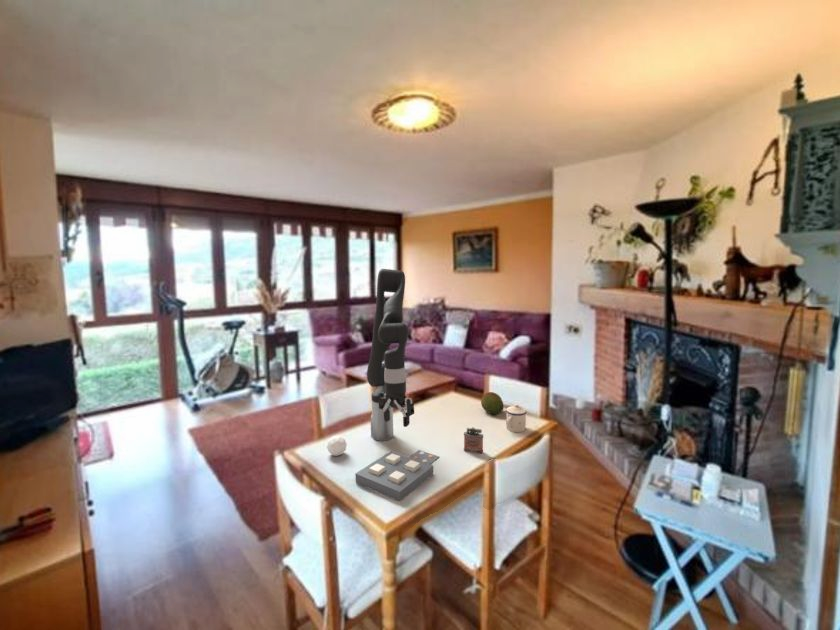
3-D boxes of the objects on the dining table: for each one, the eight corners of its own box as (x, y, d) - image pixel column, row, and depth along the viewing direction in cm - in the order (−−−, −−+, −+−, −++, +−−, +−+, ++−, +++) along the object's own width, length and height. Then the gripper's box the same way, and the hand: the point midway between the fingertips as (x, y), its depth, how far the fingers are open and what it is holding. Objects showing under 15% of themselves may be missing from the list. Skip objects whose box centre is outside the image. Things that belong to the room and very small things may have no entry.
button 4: (388, 482, 138) (388, 475, 138) (396, 477, 142) (396, 470, 141) (398, 486, 136) (397, 479, 136) (405, 481, 139) (405, 474, 139)
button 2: (404, 471, 146) (404, 464, 145) (411, 466, 149) (411, 459, 148) (413, 474, 143) (413, 467, 143) (420, 469, 147) (420, 463, 146)
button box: (355, 482, 143) (355, 473, 142) (391, 459, 159) (390, 451, 159) (400, 501, 132) (399, 491, 131) (433, 474, 148) (433, 465, 147)
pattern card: (407, 458, 159) (407, 457, 159) (418, 450, 166) (418, 449, 166) (428, 465, 154) (428, 464, 154) (439, 457, 160) (439, 456, 160)
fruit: (491, 406, 214) (491, 388, 213) (510, 413, 204) (510, 394, 203) (476, 411, 207) (476, 393, 205) (495, 419, 197) (495, 399, 196)
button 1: (385, 464, 151) (385, 457, 150) (392, 459, 154) (392, 453, 154) (394, 467, 148) (393, 460, 148) (400, 462, 152) (400, 456, 151)
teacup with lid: (511, 422, 192) (512, 399, 191) (529, 428, 186) (530, 404, 185) (498, 431, 183) (499, 406, 182) (516, 436, 178) (517, 411, 176)
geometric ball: (340, 462, 163) (341, 452, 157) (323, 454, 164) (323, 444, 158) (349, 446, 168) (350, 436, 163) (332, 438, 169) (333, 429, 164)
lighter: (462, 451, 165) (462, 428, 163) (464, 447, 168) (465, 425, 166) (482, 454, 162) (482, 431, 160) (483, 451, 165) (484, 427, 164)
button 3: (369, 474, 143) (369, 468, 143) (376, 470, 147) (376, 463, 146) (377, 478, 141) (377, 471, 141) (385, 473, 144) (385, 466, 144)
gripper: (372, 379, 142) (374, 422, 144) (404, 385, 134) (406, 431, 136) (386, 374, 148) (388, 416, 150) (417, 379, 140) (419, 424, 142)
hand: (396, 423), depth 143 cm, fingers open, 8 cm apart
